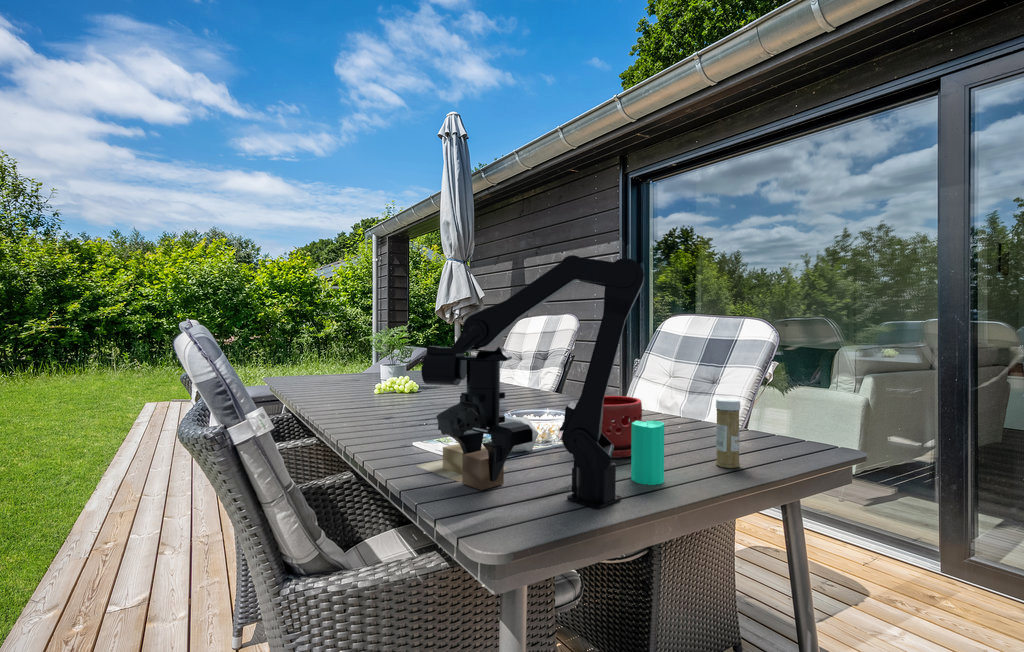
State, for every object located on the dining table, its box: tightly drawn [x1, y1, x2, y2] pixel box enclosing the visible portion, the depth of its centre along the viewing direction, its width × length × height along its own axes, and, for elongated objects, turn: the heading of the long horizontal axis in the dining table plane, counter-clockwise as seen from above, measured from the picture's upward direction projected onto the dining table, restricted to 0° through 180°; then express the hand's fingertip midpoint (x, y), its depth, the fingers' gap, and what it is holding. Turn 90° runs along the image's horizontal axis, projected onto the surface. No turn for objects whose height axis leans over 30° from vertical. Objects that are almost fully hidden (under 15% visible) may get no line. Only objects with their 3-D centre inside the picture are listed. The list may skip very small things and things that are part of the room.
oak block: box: [442, 443, 487, 474], centre depth 101 cm, size 6×6×4 cm
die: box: [502, 416, 540, 453], centre depth 116 cm, size 8×9×10 cm
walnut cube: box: [461, 450, 505, 491], centre depth 91 cm, size 5×5×5 cm
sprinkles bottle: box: [715, 397, 741, 469], centre depth 107 cm, size 5×5×13 cm
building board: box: [415, 458, 510, 483], centre depth 102 cm, size 14×12×1 cm
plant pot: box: [602, 395, 643, 459], centre depth 117 cm, size 13×13×12 cm
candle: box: [630, 420, 665, 486], centre depth 98 cm, size 6×6×12 cm
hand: (483, 477), depth 91 cm, fingers closed on walnut cube, 5 cm apart
